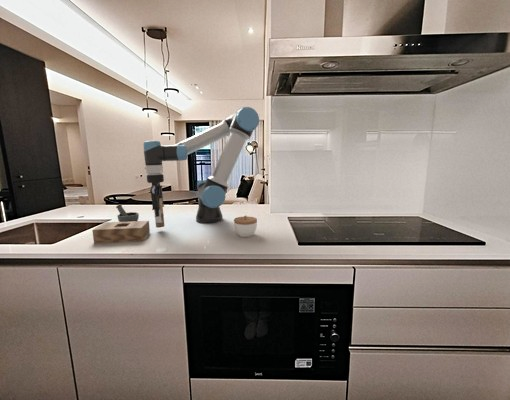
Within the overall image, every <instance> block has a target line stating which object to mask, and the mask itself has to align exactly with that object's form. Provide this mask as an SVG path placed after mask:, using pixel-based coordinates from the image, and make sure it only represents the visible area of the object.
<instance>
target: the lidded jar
mask: <svg viewBox="0 0 510 400" xmlns="http://www.w3.org/2000/svg"><path fill="white" fill-rule="evenodd" d="M233 223H234V225H233V226H234V230H235V232H236V233H237V235H238V236H240V238H250V237H252V236H253V235H254V234H255V232H257V231H256V230H257V225H258V224H257V223H258V218H257V217H254V216H248V215H244V216H239V217H235V218H234V219H233Z"/></svg>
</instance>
